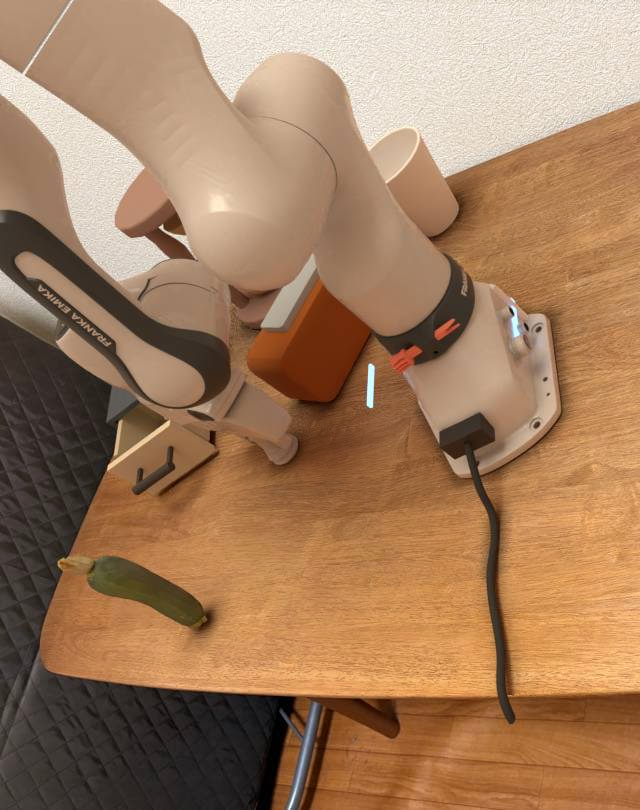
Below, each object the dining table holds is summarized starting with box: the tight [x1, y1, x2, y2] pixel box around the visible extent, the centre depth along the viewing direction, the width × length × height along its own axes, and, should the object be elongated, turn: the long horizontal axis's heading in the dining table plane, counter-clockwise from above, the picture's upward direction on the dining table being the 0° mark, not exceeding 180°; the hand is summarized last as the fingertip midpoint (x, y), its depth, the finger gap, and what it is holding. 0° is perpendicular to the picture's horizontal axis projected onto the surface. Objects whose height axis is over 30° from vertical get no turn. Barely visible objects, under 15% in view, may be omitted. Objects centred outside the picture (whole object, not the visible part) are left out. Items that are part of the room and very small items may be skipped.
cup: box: [367, 125, 460, 238], centre depth 118 cm, size 12×12×12 cm
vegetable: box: [57, 555, 208, 630], centre depth 96 cm, size 4×4×20 cm
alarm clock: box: [246, 253, 372, 403], centre depth 115 cm, size 24×8×11 cm, turn 155°
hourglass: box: [114, 167, 283, 330], centre depth 129 cm, size 18×18×25 cm
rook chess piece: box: [239, 432, 299, 466], centre depth 110 cm, size 4×4×8 cm
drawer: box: [106, 403, 216, 496], centre depth 123 cm, size 19×12×8 cm, turn 17°
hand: (272, 441), depth 111 cm, fingers open, 5 cm apart
